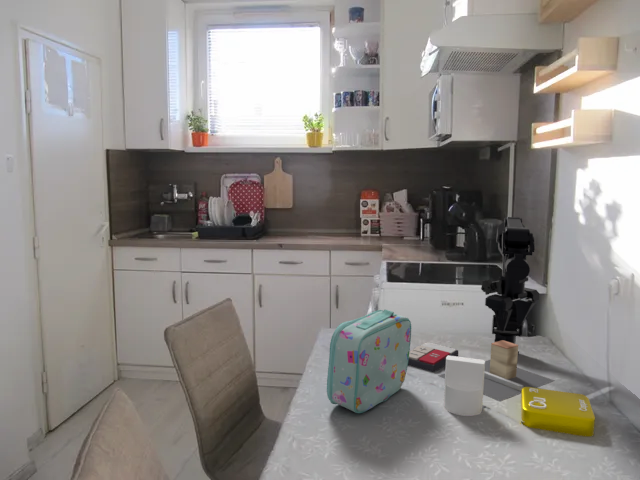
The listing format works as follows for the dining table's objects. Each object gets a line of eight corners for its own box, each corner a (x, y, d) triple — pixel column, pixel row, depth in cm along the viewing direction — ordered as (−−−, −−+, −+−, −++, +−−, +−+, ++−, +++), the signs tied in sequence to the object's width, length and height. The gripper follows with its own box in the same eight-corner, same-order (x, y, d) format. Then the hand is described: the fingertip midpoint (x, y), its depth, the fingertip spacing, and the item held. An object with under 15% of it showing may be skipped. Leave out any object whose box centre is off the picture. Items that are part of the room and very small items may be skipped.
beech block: (500, 371, 157) (502, 340, 156) (516, 376, 153) (518, 344, 152) (489, 374, 154) (491, 343, 153) (504, 380, 150) (507, 348, 149)
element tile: (594, 440, 121) (596, 419, 120) (521, 428, 125) (522, 408, 125) (586, 411, 135) (587, 392, 134) (520, 401, 139) (521, 383, 139)
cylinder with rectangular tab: (483, 403, 137) (485, 356, 136) (480, 418, 129) (484, 368, 127) (445, 397, 140) (448, 351, 139) (441, 412, 132) (443, 363, 130)
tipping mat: (492, 361, 167) (492, 355, 166) (554, 383, 151) (555, 376, 150) (437, 378, 153) (438, 371, 152) (499, 404, 137) (500, 396, 136)
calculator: (400, 354, 162) (426, 339, 173) (400, 368, 163) (426, 353, 174) (434, 363, 155) (459, 347, 166) (433, 378, 156) (458, 361, 167)
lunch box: (378, 376, 153) (380, 300, 150) (412, 385, 147) (415, 306, 144) (321, 410, 132) (323, 321, 129) (358, 422, 126) (361, 330, 123)
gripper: (506, 264, 166) (502, 315, 168) (469, 272, 154) (466, 327, 156) (541, 271, 158) (537, 324, 160) (506, 279, 146) (502, 337, 148)
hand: (510, 327), depth 156 cm, fingers open, 9 cm apart
